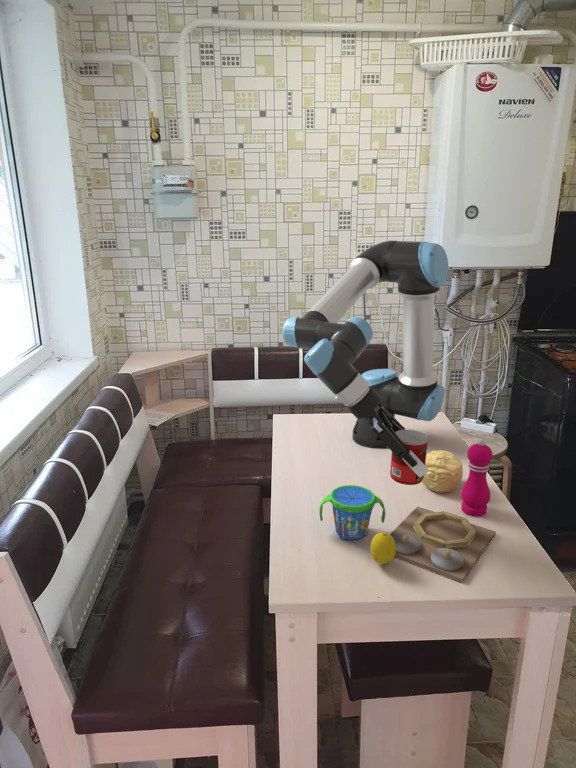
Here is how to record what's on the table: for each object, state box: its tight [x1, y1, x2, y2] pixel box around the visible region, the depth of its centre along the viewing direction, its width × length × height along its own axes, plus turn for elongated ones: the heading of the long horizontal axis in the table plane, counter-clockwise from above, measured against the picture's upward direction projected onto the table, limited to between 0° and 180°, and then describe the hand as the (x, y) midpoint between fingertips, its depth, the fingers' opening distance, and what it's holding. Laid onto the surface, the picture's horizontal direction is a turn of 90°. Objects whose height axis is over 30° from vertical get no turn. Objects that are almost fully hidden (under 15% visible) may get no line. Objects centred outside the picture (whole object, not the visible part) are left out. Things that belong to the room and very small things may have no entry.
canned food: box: [389, 429, 429, 486], centre depth 140 cm, size 8×8×11 cm
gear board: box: [389, 506, 497, 584], centre depth 138 cm, size 22×20×4 cm
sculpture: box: [421, 450, 464, 494], centre depth 162 cm, size 11×12×11 cm
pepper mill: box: [460, 438, 494, 518], centre depth 148 cm, size 7×7×20 cm
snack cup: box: [318, 484, 386, 541], centre depth 141 cm, size 16×10×10 cm
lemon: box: [369, 531, 396, 566], centre depth 129 cm, size 6×6×8 cm
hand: (422, 465), depth 140 cm, fingers closed on canned food, 8 cm apart
